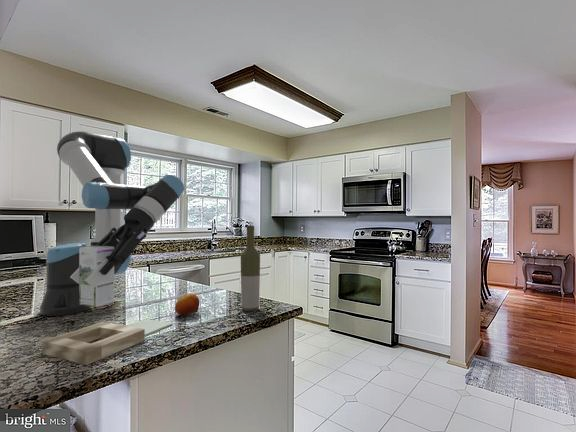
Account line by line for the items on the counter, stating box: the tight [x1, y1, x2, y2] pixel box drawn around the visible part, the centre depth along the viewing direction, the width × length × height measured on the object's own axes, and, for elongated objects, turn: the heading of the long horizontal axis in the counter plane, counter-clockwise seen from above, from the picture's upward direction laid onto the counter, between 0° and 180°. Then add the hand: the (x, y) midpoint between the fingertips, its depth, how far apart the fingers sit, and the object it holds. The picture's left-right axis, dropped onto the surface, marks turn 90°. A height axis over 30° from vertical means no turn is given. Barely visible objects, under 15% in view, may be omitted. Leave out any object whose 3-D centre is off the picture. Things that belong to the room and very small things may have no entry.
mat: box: [126, 318, 173, 337], centre depth 97 cm, size 11×11×1 cm
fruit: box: [174, 293, 200, 317], centre depth 112 cm, size 8×8×8 cm
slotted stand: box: [41, 321, 146, 366], centre depth 83 cm, size 16×16×3 cm
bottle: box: [240, 225, 261, 312], centre depth 117 cm, size 7×7×30 cm
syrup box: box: [79, 245, 115, 308], centre depth 83 cm, size 6×6×14 cm
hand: (82, 282), depth 80 cm, fingers closed on syrup box, 7 cm apart
